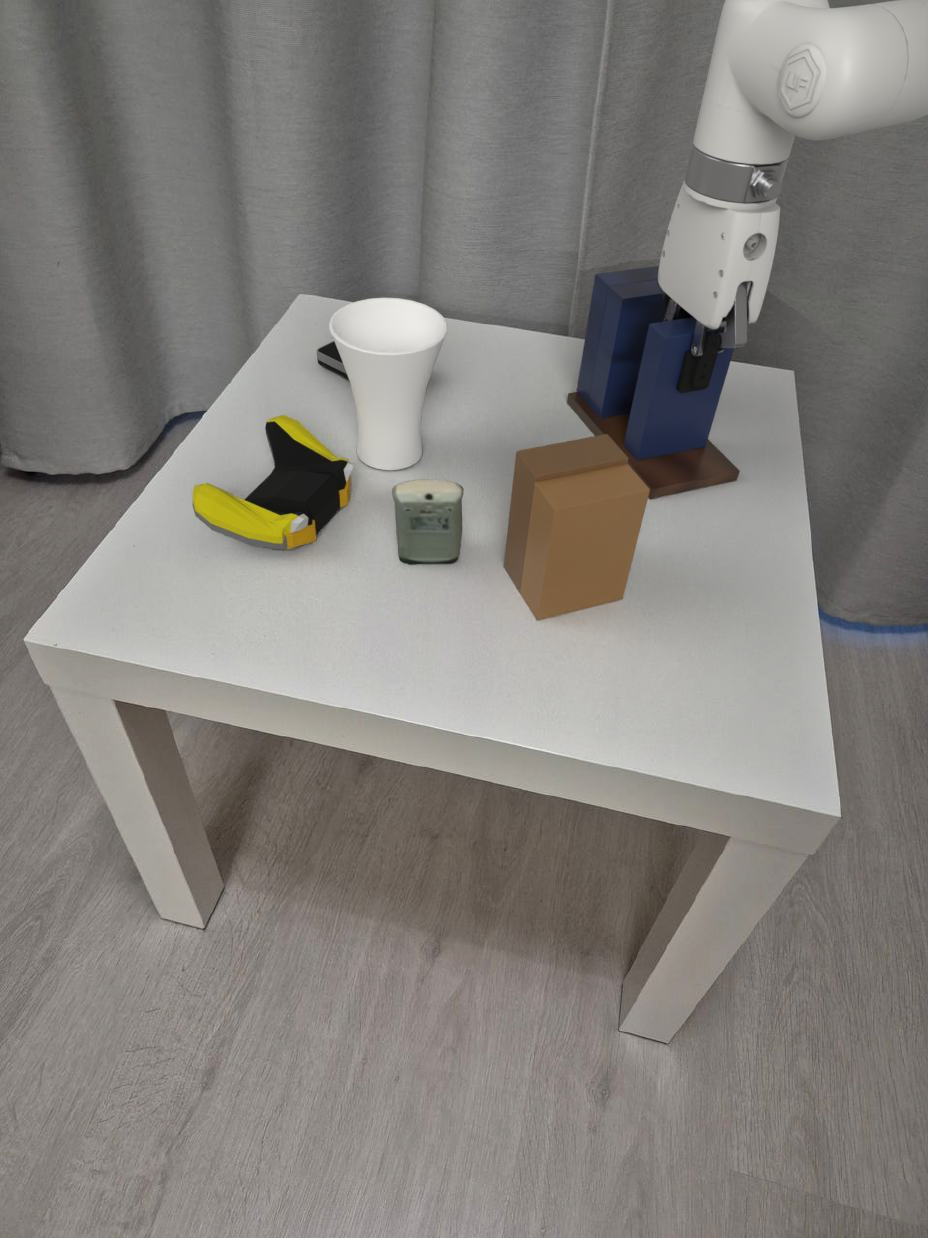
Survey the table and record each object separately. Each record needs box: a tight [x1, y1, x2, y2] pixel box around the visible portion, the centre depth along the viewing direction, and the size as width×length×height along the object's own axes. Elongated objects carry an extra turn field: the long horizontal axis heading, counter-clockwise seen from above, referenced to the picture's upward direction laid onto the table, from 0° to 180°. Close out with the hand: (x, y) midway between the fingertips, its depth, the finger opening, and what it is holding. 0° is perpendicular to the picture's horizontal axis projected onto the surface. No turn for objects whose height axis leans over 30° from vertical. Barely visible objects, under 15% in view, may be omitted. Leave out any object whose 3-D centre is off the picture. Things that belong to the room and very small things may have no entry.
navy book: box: [624, 317, 735, 460], centre depth 84 cm, size 8×3×13 cm, turn 112°
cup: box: [328, 297, 448, 471], centre depth 82 cm, size 10×10×14 cm
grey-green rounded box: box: [391, 478, 464, 566], centre depth 74 cm, size 6×5×8 cm
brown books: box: [503, 434, 650, 622], centre depth 71 cm, size 8×7×12 cm
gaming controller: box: [192, 414, 355, 551], centre depth 78 cm, size 15×6×10 cm
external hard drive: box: [316, 340, 349, 381], centre depth 97 cm, size 7×11×2 cm, turn 51°
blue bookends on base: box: [566, 265, 741, 500], centre depth 86 cm, size 10×18×14 cm, turn 22°
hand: (682, 378), depth 83 cm, fingers closed on navy book, 2 cm apart
